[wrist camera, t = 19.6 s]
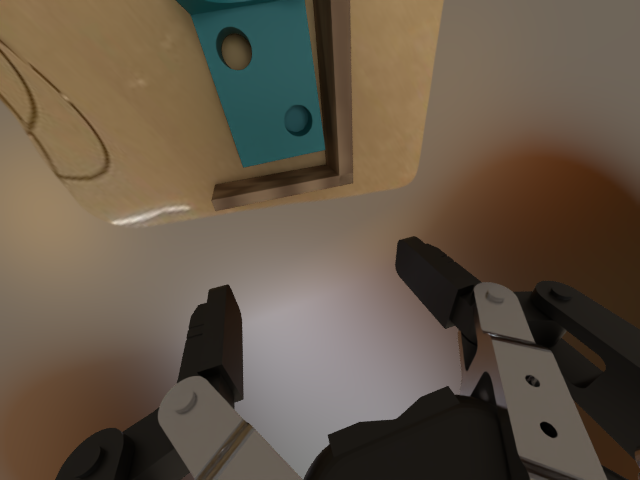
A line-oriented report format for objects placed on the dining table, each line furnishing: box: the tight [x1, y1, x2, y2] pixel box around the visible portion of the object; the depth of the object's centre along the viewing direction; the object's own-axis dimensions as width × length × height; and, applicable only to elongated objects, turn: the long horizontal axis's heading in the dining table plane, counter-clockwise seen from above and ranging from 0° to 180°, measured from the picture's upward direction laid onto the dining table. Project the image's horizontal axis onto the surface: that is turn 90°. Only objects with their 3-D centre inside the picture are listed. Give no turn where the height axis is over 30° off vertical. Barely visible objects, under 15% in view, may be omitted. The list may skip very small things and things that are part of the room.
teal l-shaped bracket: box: [176, 0, 325, 168], centre depth 25 cm, size 18×11×10 cm, turn 9°
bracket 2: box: [211, 0, 353, 211], centre depth 27 cm, size 19×25×6 cm
